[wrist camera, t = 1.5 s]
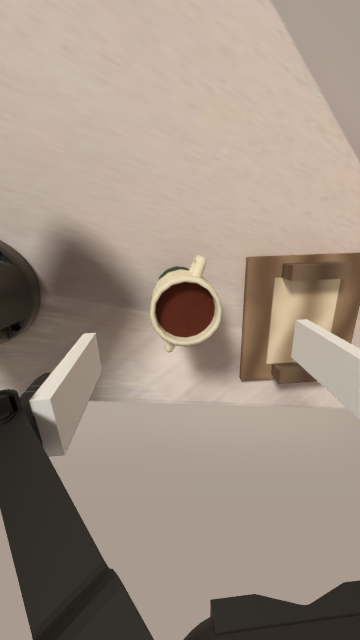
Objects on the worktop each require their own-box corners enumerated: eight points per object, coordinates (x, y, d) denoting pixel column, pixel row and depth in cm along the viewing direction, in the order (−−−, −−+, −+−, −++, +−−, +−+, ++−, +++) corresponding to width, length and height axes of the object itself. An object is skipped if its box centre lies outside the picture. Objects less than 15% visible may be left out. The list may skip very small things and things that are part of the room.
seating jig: (239, 377, 41) (247, 391, 37) (246, 257, 34) (256, 259, 31) (340, 370, 42) (357, 383, 38) (365, 252, 35) (389, 254, 32)
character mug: (188, 327, 37) (200, 371, 25) (143, 313, 36) (134, 352, 24) (214, 260, 34) (243, 271, 22) (167, 242, 33) (169, 244, 21)
